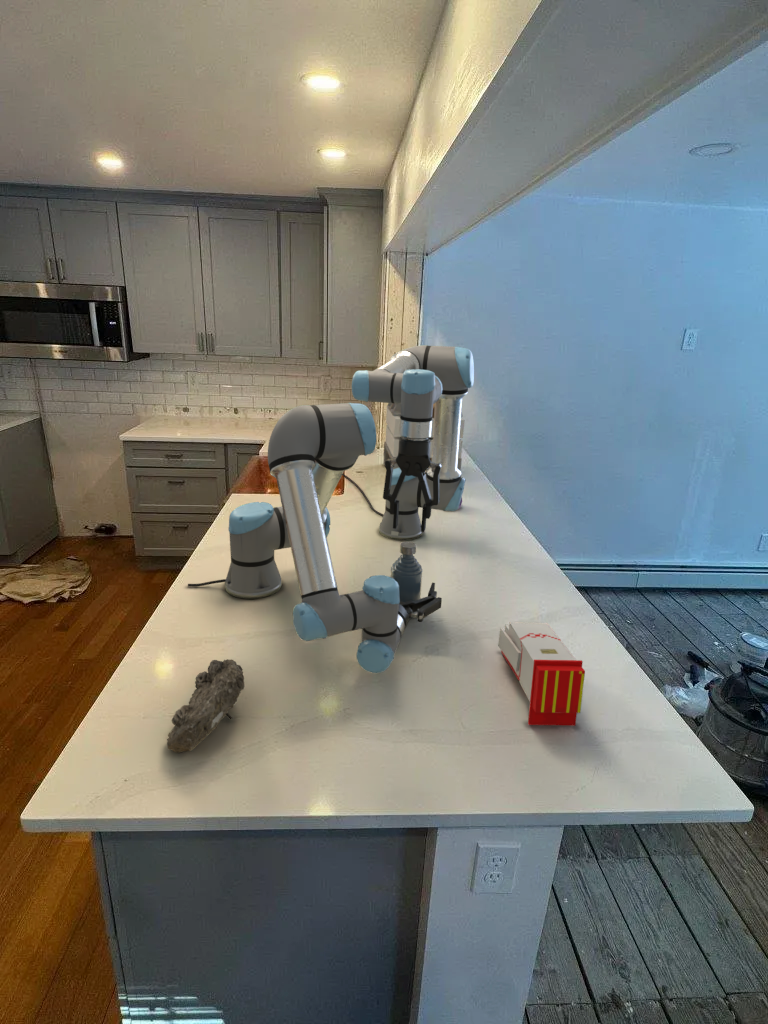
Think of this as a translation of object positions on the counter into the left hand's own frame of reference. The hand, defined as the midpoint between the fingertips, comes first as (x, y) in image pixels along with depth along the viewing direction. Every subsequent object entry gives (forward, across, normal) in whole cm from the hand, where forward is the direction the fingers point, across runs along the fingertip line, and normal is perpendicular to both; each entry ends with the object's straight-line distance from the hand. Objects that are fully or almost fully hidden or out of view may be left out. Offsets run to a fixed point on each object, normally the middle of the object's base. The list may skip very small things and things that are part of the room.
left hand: (408, 583), depth 150 cm
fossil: (-54, -27, -6) cm, 61 cm away
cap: (-3, 0, +12) cm, 13 cm away
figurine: (+84, +1, -6) cm, 84 cm away
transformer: (+129, -20, -6) cm, 131 cm away
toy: (-25, +33, -6) cm, 42 cm away
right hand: (-3, 0, +17) cm, 17 cm away
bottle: (-3, 0, -6) cm, 7 cm away
